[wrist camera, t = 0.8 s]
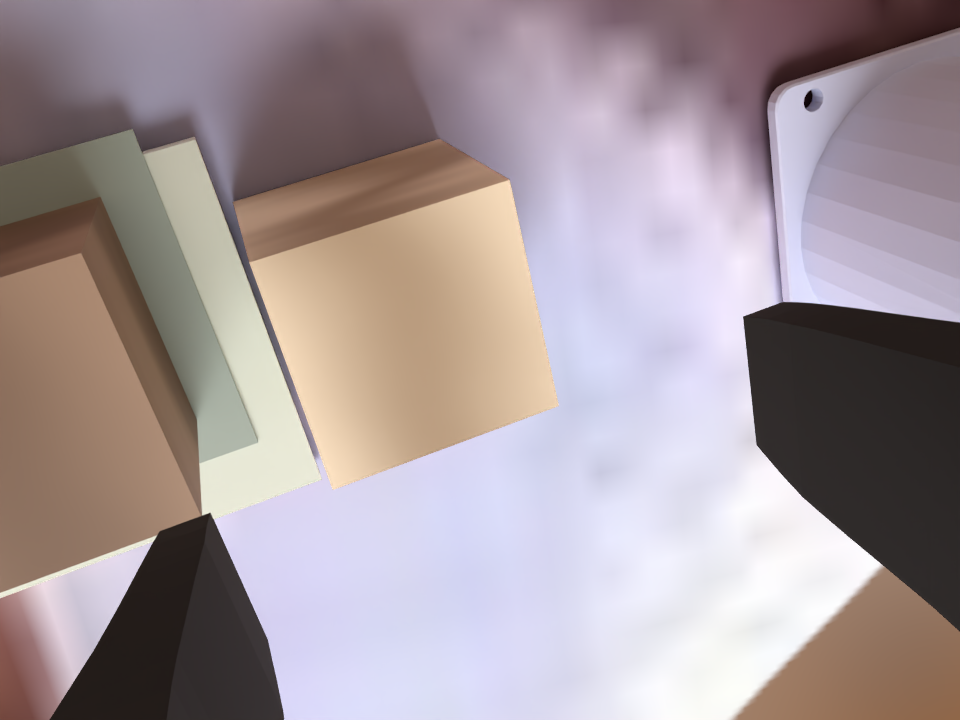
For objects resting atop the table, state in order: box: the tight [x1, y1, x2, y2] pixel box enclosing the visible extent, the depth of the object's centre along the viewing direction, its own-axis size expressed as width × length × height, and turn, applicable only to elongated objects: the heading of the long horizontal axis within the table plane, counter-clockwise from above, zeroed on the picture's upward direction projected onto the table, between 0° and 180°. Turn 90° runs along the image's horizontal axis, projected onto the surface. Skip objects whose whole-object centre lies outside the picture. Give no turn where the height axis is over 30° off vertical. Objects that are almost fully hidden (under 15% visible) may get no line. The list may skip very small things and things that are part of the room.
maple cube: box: [233, 139, 559, 490], centre depth 18 cm, size 4×4×4 cm
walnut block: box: [0, 197, 202, 593], centre depth 16 cm, size 5×5×4 cm
